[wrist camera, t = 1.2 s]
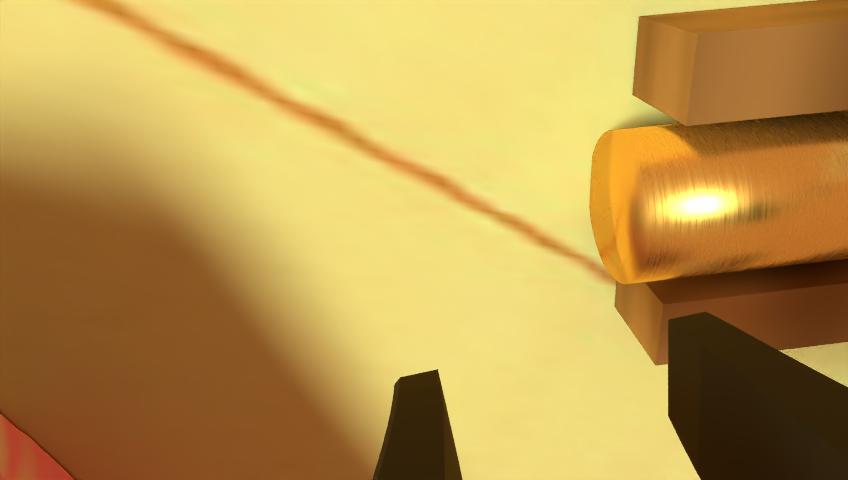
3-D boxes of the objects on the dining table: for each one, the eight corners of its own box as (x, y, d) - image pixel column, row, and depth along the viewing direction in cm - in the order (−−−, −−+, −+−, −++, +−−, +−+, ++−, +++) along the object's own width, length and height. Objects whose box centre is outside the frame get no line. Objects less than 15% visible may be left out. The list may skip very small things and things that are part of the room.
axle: (938, 77, 17) (1087, 118, 14) (896, 205, 19) (1018, 269, 16) (593, 111, 17) (657, 162, 13) (585, 240, 19) (638, 314, 15)
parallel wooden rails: (1007, -17, 16) (1136, -7, 13) (910, 271, 20) (995, 323, 17) (638, 16, 16) (698, 33, 13) (614, 306, 20) (655, 365, 17)
